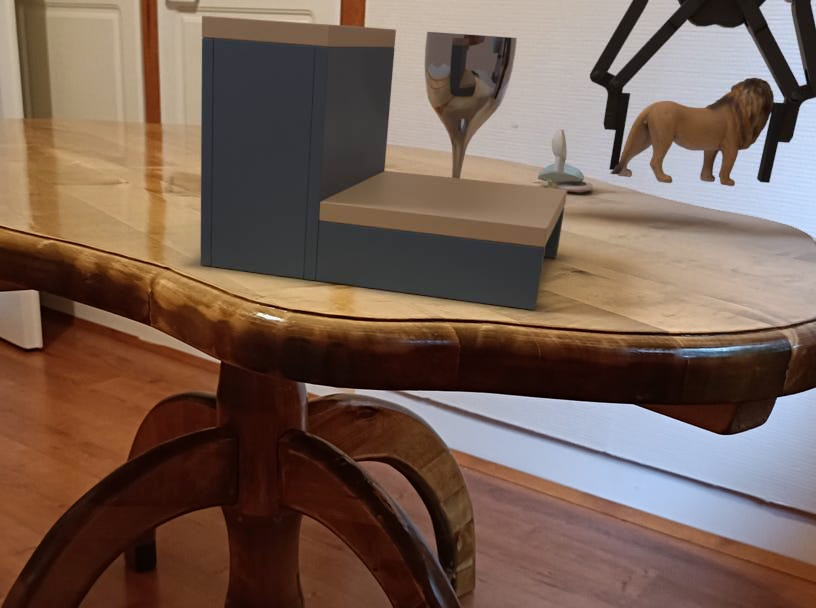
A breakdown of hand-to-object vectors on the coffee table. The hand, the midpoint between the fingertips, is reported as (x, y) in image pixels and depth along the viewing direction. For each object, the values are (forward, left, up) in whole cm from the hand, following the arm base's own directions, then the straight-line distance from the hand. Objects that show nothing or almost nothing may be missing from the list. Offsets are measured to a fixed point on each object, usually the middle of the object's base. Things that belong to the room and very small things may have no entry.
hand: (686, 175), depth 87 cm
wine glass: (+20, +4, -5) cm, 21 cm away
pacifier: (+11, -17, -5) cm, 21 cm away
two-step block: (+20, +29, -5) cm, 36 cm away
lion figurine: (0, 0, -1) cm, 1 cm away
